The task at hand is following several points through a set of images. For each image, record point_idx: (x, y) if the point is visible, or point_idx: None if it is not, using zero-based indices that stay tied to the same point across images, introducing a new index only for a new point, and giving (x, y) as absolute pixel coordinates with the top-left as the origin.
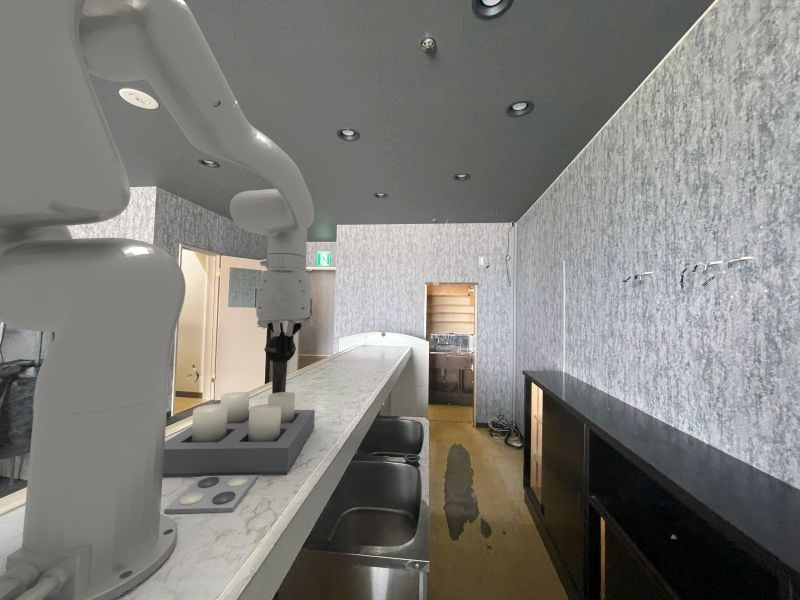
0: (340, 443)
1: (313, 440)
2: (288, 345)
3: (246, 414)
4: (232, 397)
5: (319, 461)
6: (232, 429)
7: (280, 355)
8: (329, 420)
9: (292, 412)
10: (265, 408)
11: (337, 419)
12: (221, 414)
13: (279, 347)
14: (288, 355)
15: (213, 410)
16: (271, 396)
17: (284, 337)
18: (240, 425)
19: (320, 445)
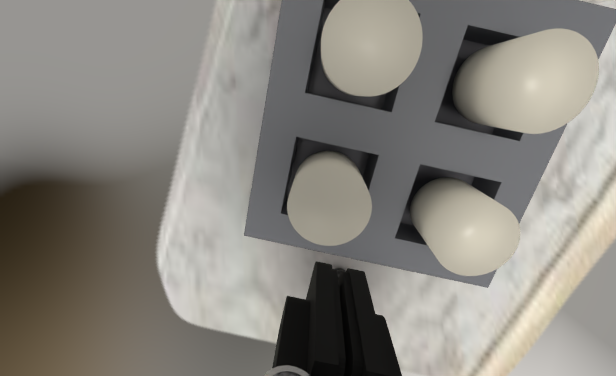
0: (191, 109)
1: (252, 143)
2: (302, 321)
3: (419, 203)
4: (483, 210)
5: (233, 17)
6: (442, 124)
7: (349, 268)
8: (221, 260)
9: (296, 173)
10: (370, 36)
11: (203, 262)
12: (501, 54)
13: (363, 300)
14: (306, 299)
15: (535, 49)
16: (361, 195)
17: (334, 357)
18: (425, 147)
19: (235, 109)
